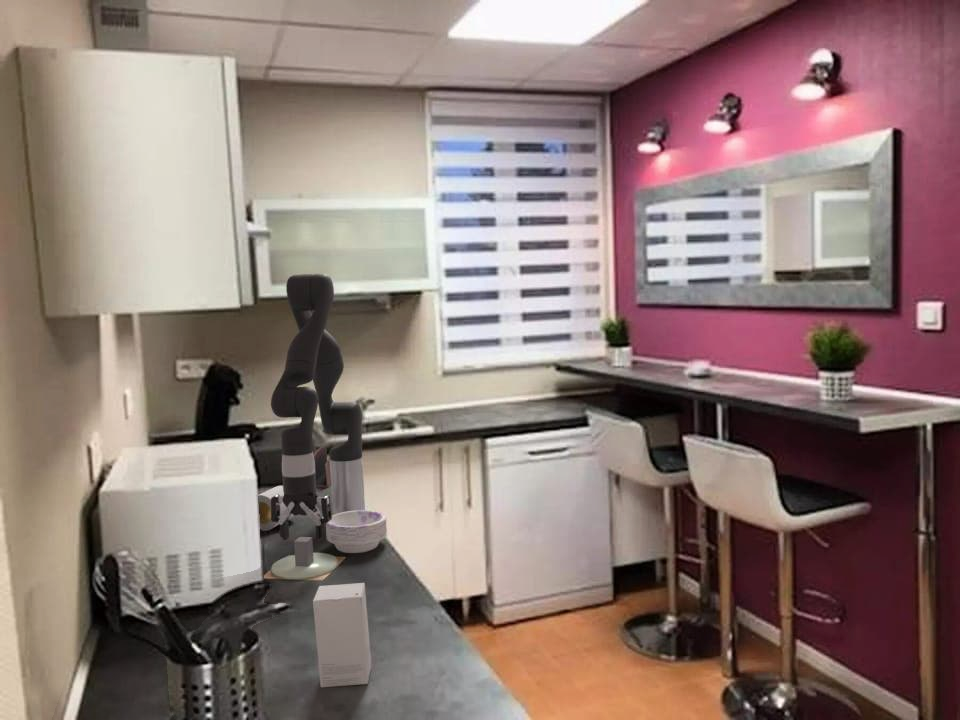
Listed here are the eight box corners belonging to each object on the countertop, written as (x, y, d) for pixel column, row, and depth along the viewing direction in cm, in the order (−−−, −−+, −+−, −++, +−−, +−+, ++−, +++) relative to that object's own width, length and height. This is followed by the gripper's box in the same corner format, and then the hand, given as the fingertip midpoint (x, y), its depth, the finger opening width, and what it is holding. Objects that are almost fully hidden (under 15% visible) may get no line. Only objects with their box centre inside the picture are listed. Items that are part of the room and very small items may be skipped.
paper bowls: (393, 537, 207) (391, 508, 206) (380, 558, 192) (378, 527, 191) (336, 538, 208) (334, 508, 207) (319, 558, 193) (317, 527, 192)
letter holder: (297, 489, 259) (295, 447, 258) (313, 474, 279) (311, 435, 278) (327, 488, 259) (325, 446, 257) (341, 473, 279) (339, 434, 277)
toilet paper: (279, 532, 215) (276, 496, 214) (248, 529, 218) (245, 494, 217) (299, 520, 225) (296, 486, 223) (268, 518, 228) (266, 484, 227)
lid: (288, 554, 195) (286, 528, 194) (346, 556, 192) (345, 529, 191) (260, 578, 180) (258, 549, 180) (322, 580, 177) (321, 551, 177)
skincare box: (372, 667, 138) (367, 581, 136) (368, 686, 131) (363, 597, 130) (324, 669, 138) (318, 583, 136) (317, 689, 131) (312, 599, 129)
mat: (288, 556, 195) (288, 554, 195) (346, 558, 192) (346, 556, 192) (260, 580, 180) (260, 577, 180) (322, 582, 177) (322, 580, 177)
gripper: (333, 468, 186) (337, 535, 187) (277, 467, 189) (281, 533, 190) (321, 476, 179) (325, 545, 180) (263, 475, 181) (267, 543, 183)
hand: (302, 539), depth 185 cm, fingers open, 8 cm apart
